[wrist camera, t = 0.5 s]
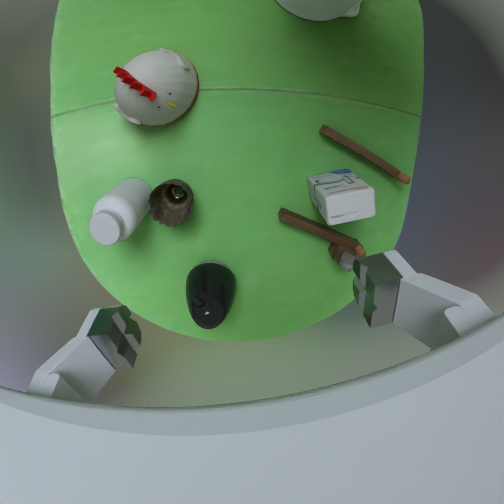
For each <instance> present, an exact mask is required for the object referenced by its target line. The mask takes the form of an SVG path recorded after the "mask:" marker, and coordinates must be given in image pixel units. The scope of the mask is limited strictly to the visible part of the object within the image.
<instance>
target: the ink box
mask: <svg viewBox="0 0 504 504" xmlns="http://www.w3.org/2000/svg"><path fill="white" fill-rule="evenodd" d="M308 184H309V191H310V197H311V200H312V201H313V203H314V204H315V206H316V207H317V209H318V210H319V212H320V213H321V215H322V216H323V218H324V219H325V221H326V223H327V224H328V225H335V224H340V223H345V222H350V221H355V220H360V219H365V218H371V217H373V216H374V215H376V201H375V190H374V188H372V187H371V186H370V185H368V184H367V183H366V182H364V181H363V180H362V179H360V178H359V177H358V176H356V175H355V174H354V173H352V172H351V171H350V170H348V169H345V170H339V171H334V172H329V173H324V174H319V175H314V176H310V177H308Z"/></svg>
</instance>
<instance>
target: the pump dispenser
mask: <svg viewBox="0 0 504 504" xmlns="http://www.w3.org/2000/svg"><path fill="white" fill-rule="evenodd" d="M235 293H236V279H235V276H234V274H233V273H232V272H231V270H230V269H229V268H228V267H227V266H226V265H224V264H223V263H220V262H217V261H205V262H202V263H200V264H198V265H197V266H196V267H194V268H193V269H192V270H191V271H190V272H189V274H188V276H187V280H186V299H187V304H188V308H189V312H190V314H191V317H192V318H193V320H194V321H195V323H196V324H197V325H198V326H200V327H202V328H205V329H212V328H215V327H217V326H218V325H220V324H221V323H222V322H223V321H224V319H225V318H226V317H227V315H228V313H229V311H230V309H231V307H232V304H233V301H234V298H235Z"/></svg>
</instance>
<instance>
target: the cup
mask: <svg viewBox="0 0 504 504" xmlns="http://www.w3.org/2000/svg"><path fill="white" fill-rule="evenodd" d="M176 187H180V188H182V189H183V193H182V194H181V195H177V194H176V193H175V188H176ZM148 204H150V208H151V210H150V214H152V218H153V219H154V220H158V221H160V222H159V223H160V224H163V223H165V224H166V225H167V226H168V227H169V226H173V227H175V226H176V225H177V224H178V223H179V225H181V224H182V223H183V222H184V221H187V220H188V219H189V217H190V214H191V213H192V207H193V193H192V190H191V188H190V187H189V185H188V184H187V183H185V182H184V181H182V180H178V179H172V180H168V181H166V182H164V183H162V184H160V185H159V186H157V187H156V188H155V189H154V190H153V191H152V192H151V193H150V195H149V200H148Z"/></svg>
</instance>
